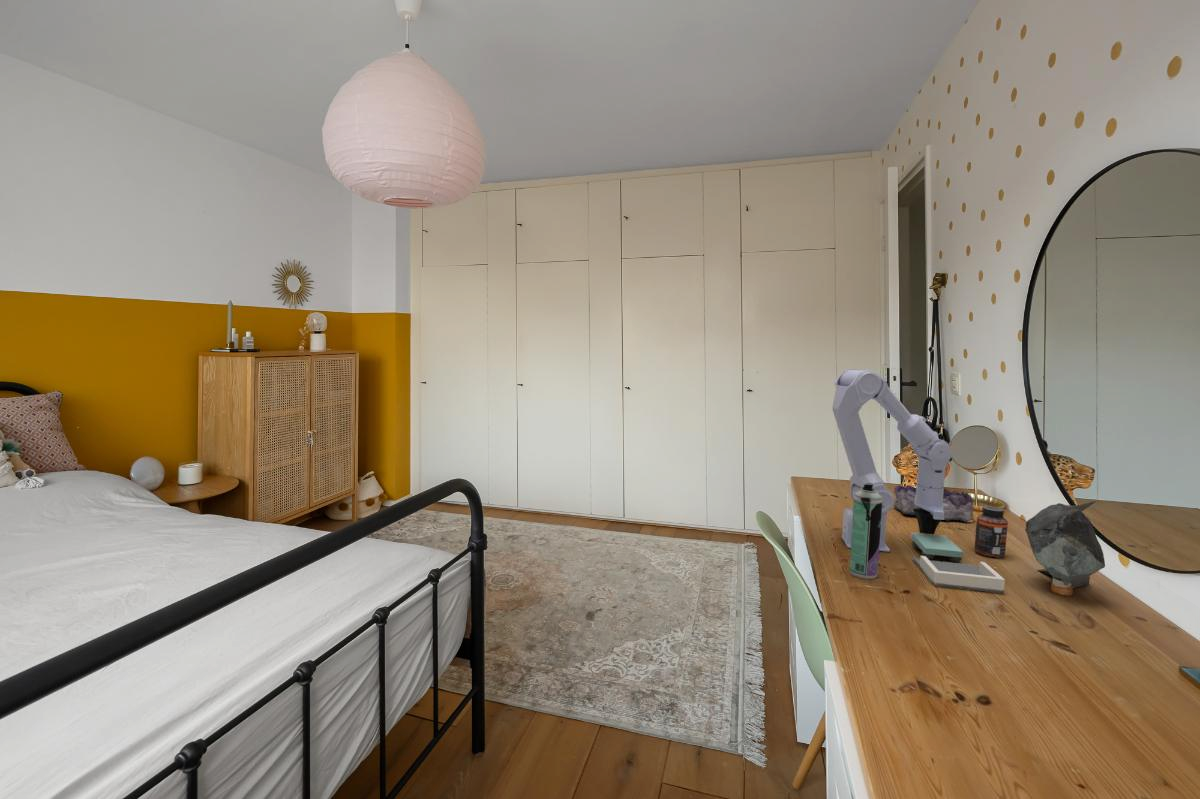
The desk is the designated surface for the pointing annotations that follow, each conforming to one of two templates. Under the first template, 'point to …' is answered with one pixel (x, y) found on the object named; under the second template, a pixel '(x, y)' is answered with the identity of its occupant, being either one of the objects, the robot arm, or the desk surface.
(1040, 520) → the faceted stone sculpture
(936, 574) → the tray
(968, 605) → the desk surface
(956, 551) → the mint green block
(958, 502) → the geode
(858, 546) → the spray can
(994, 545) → the supplement bottle
